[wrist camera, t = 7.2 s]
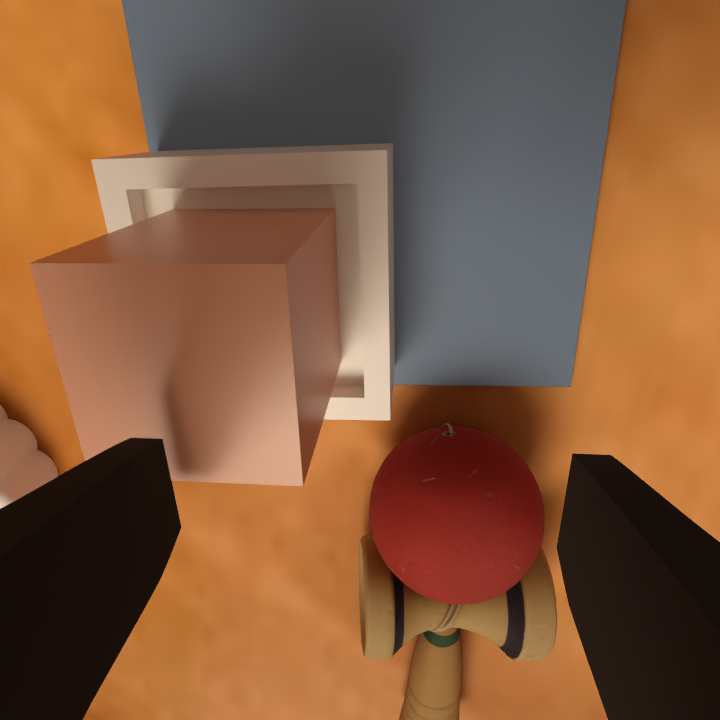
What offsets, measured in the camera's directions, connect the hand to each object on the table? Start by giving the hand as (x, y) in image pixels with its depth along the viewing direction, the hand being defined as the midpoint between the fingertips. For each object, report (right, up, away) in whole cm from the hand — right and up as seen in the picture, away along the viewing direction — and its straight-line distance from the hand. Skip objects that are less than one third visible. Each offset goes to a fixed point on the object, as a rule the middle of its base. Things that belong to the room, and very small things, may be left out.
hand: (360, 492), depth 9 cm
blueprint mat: (0, +9, +7) cm, 12 cm away
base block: (-3, +6, +9) cm, 11 cm away
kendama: (+4, -7, +15) cm, 17 cm away
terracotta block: (-3, +4, +6) cm, 8 cm away
